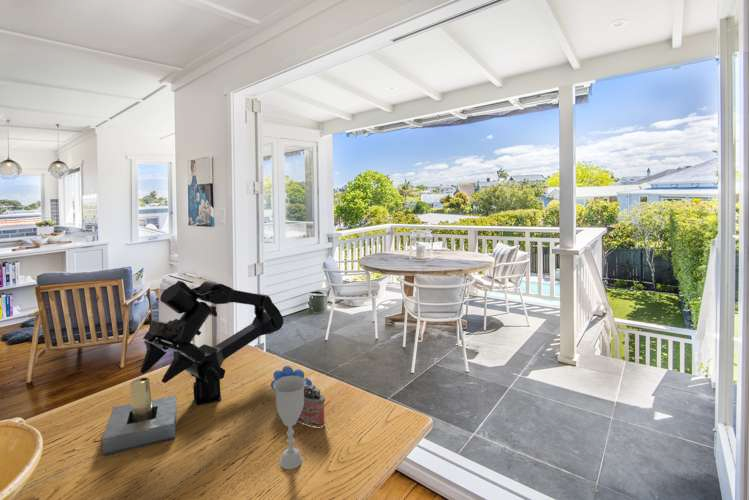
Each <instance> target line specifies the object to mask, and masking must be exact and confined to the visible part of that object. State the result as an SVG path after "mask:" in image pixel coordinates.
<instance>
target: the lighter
mask: <svg viewBox="0 0 749 500" xmlns="http://www.w3.org/2000/svg"><path fill="white" fill-rule="evenodd" d="M325 401H326V397H325V396H324V395H321V388H318V387H316V385H314V384H312V386H308V385H305V386H304V406H303V409H302V412H301V414H300V416H299V418H298V421H299V422H301V423H304V424H307V425H310V426H316V427H321V426H323V425H324V424H325V425H326V421H325Z"/></svg>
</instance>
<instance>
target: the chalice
mask: <svg viewBox="0 0 749 500" xmlns="http://www.w3.org/2000/svg"><path fill="white" fill-rule="evenodd" d="M304 378H305V377H304ZM304 378H302V377H299V376H286V377H282V378H280V379H278V380H277V381H275V383H274V384H273V387H274V389H275V390H276V391H275V406H276V407H275V408H276V412H277V413H278V415H279V417H280V419H281V422H282V423H283V425H284V426H286V427H287V431H286V435H287V436H288V438H287V439H286V443H287V444H288V447H287V448H285V449H284V451H283V452H282V454H281V457H280V458H279V459H280V460H279V461H278V465H279V467H280V468H282V469H284V470H293V469H296V468H298V467H299V465H301V464H302V463H303V461H302V459H303V457H302V454H301V452H300V450H299V449H298V448H296V447H294V446H293V445H294V442H295V441H296V440H295V438H294V434H295V431H294V425H297V423H298V422H297V421H298V418H299V416H300V414H301V412H302V409H303V406H304V386H305V384H306V380H305V379H304ZM301 462H302V463H301Z"/></svg>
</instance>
